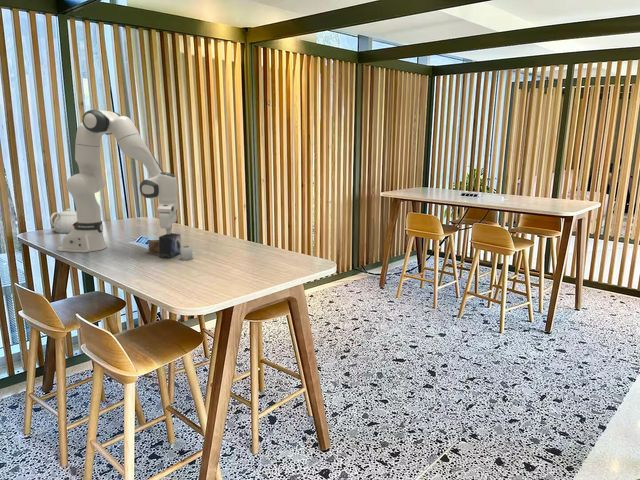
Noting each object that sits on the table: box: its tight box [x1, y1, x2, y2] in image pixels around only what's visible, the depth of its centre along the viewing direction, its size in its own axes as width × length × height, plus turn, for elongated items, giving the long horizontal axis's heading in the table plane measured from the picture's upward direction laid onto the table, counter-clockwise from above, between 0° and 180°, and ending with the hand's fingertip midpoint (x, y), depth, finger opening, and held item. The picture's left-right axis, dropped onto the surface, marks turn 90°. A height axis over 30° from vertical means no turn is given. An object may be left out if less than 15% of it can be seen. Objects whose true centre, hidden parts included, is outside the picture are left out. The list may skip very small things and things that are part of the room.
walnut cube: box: [147, 239, 159, 255], centre depth 233 cm, size 6×6×6 cm
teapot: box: [49, 208, 77, 234], centre depth 275 cm, size 19×18×14 cm
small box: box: [158, 232, 182, 259], centre depth 228 cm, size 11×6×10 cm, turn 168°
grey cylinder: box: [179, 245, 193, 261], centre depth 223 cm, size 6×6×6 cm
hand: (169, 233), depth 227 cm, fingers closed
